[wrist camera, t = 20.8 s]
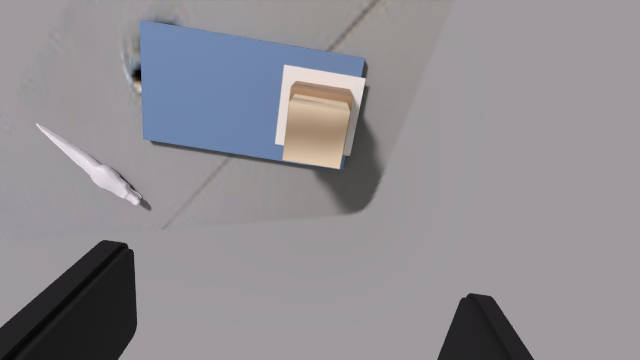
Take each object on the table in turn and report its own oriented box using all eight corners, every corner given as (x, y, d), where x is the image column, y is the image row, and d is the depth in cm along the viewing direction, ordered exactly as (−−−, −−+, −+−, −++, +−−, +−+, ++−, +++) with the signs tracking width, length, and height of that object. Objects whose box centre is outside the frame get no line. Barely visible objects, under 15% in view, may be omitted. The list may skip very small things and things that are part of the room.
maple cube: (337, 152, 34) (339, 169, 30) (288, 144, 34) (282, 160, 29) (347, 102, 32) (350, 111, 28) (294, 93, 32) (289, 101, 28)
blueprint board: (368, 58, 38) (369, 59, 37) (346, 168, 42) (346, 171, 41) (144, 20, 37) (139, 19, 36) (147, 137, 41) (142, 139, 40)
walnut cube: (340, 141, 40) (342, 156, 34) (289, 133, 40) (283, 147, 34) (349, 89, 38) (353, 96, 32) (296, 80, 38) (290, 86, 32)
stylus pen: (150, 193, 44) (142, 199, 42) (139, 207, 45) (131, 213, 43) (47, 114, 41) (33, 117, 40) (37, 130, 42) (24, 133, 40)
